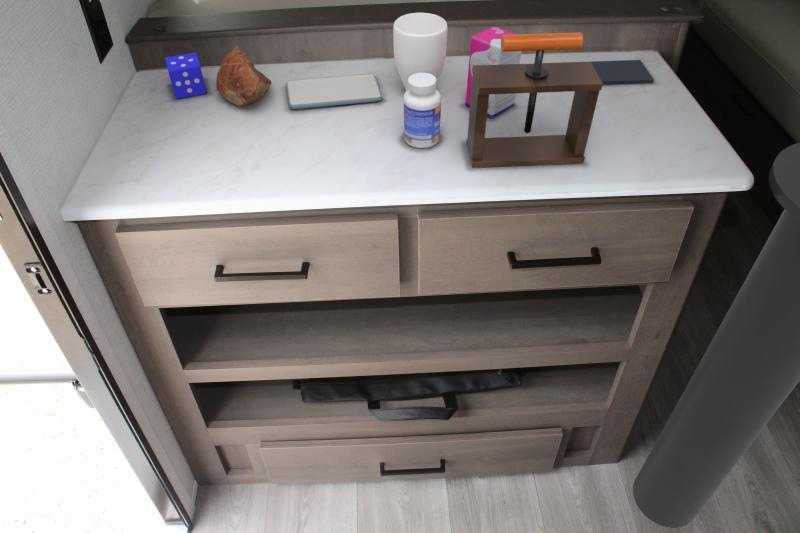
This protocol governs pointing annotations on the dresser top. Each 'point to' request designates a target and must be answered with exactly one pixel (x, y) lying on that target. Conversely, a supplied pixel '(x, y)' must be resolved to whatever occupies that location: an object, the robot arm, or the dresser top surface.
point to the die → (186, 75)
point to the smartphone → (333, 91)
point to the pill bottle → (422, 111)
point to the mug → (419, 45)
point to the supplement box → (489, 53)
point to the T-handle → (539, 57)
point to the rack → (532, 147)
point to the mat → (622, 72)
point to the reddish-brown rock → (240, 79)
